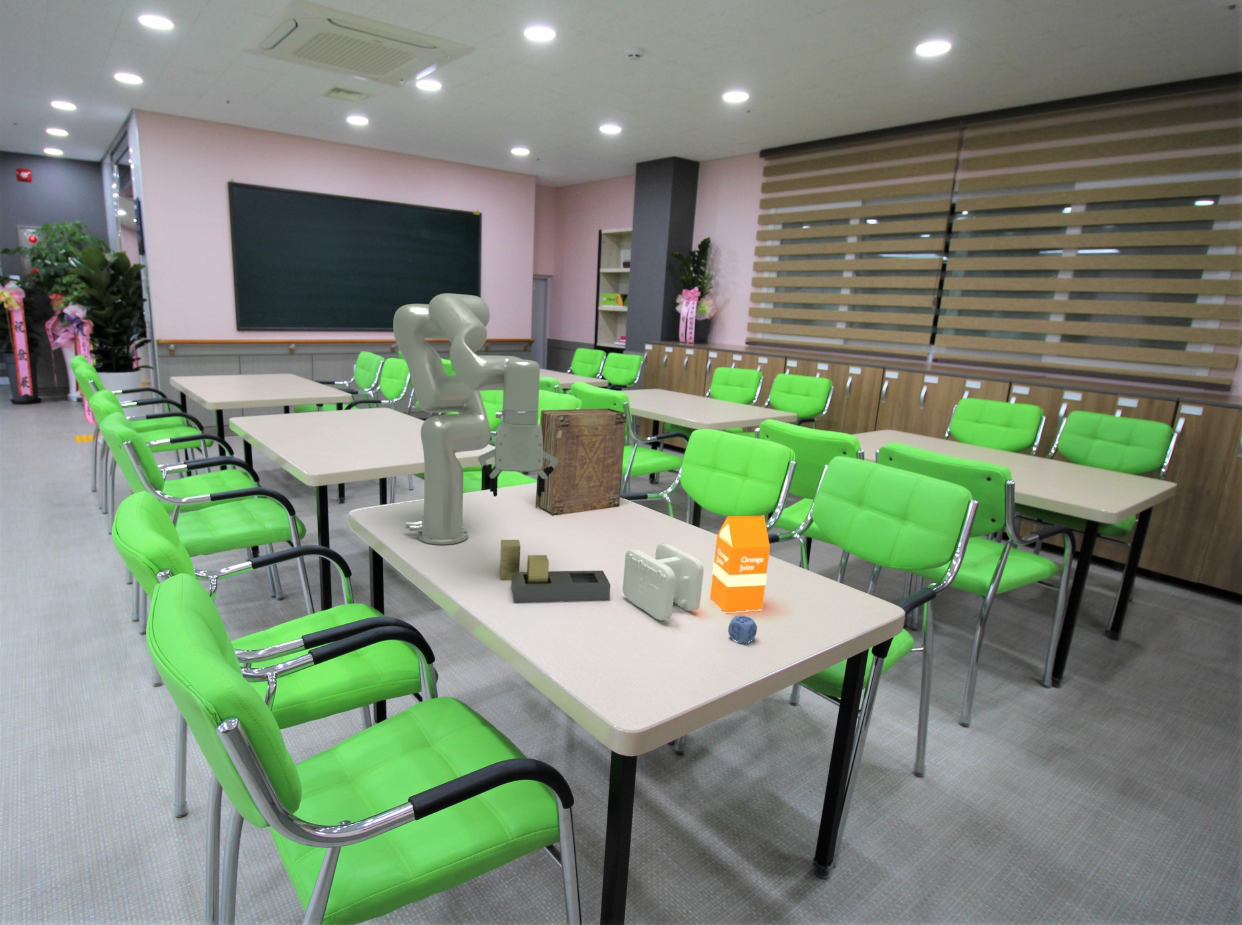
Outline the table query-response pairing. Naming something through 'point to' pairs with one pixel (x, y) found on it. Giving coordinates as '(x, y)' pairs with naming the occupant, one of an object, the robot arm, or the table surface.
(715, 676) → the table surface
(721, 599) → the orange juice
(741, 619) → the decorative dice
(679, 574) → the cable organizer
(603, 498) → the book
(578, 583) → the peg holder block
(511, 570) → the brass square peg
